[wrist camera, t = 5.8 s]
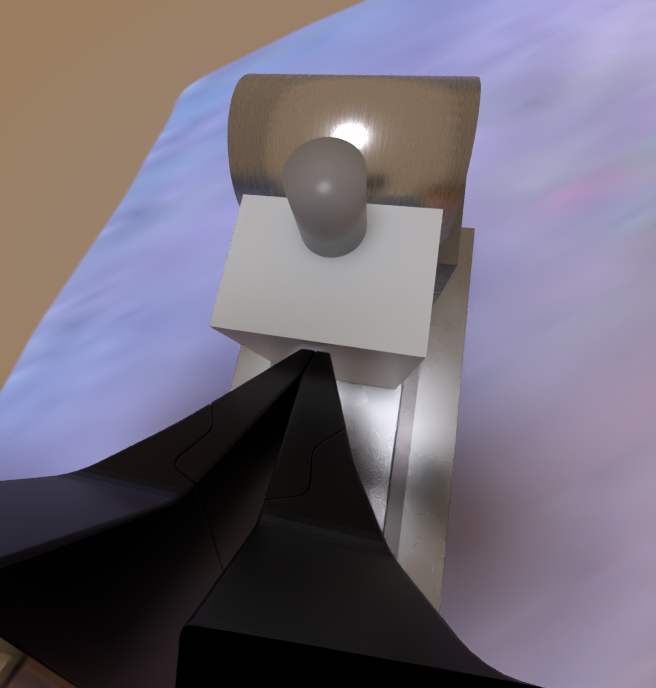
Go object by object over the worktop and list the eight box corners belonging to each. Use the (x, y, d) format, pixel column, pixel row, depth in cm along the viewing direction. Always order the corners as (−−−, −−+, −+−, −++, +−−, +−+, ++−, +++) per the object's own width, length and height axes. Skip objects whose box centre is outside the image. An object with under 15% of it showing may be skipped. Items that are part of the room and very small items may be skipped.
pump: (395, 389, 16) (445, 337, 6) (289, 372, 17) (161, 298, 7) (405, 313, 17) (466, 143, 6) (304, 300, 18) (211, 131, 7)
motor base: (427, 667, 15) (613, 1455, 4) (191, 598, 17) (-175, 972, 5) (468, 239, 19) (608, -10, 8) (277, 223, 21) (174, 1, 10)
